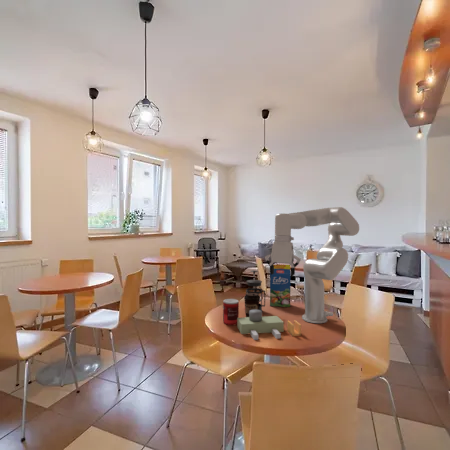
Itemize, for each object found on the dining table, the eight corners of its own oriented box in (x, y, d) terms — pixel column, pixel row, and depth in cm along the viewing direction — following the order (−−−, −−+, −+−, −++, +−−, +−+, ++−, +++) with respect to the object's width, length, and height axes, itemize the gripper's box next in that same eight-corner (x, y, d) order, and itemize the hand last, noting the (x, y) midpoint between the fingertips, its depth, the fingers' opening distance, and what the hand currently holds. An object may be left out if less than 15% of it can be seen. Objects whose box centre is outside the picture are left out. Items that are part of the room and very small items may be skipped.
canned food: (229, 318, 147) (229, 297, 147) (241, 322, 142) (241, 300, 142) (219, 322, 141) (219, 300, 141) (232, 326, 136) (232, 303, 136)
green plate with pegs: (277, 324, 139) (277, 307, 139) (289, 337, 123) (289, 318, 123) (237, 326, 136) (237, 309, 136) (244, 340, 120) (244, 320, 120)
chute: (295, 330, 131) (295, 320, 131) (300, 335, 125) (300, 324, 125) (287, 331, 131) (287, 320, 131) (292, 336, 125) (292, 325, 125)
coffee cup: (259, 322, 142) (259, 296, 142) (242, 320, 144) (243, 295, 144) (260, 316, 151) (260, 292, 151) (245, 315, 153) (245, 291, 153)
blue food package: (270, 303, 176) (270, 263, 176) (289, 304, 174) (289, 264, 174) (269, 306, 170) (270, 265, 170) (290, 307, 168) (290, 265, 168)
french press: (243, 312, 158) (243, 271, 158) (246, 307, 167) (246, 268, 167) (264, 314, 155) (264, 272, 155) (265, 309, 164) (266, 269, 164)
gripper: (302, 239, 134) (301, 275, 134) (267, 238, 142) (266, 272, 141) (299, 240, 127) (298, 278, 127) (262, 238, 135) (262, 274, 135)
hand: (281, 275), depth 134 cm, fingers open, 9 cm apart
